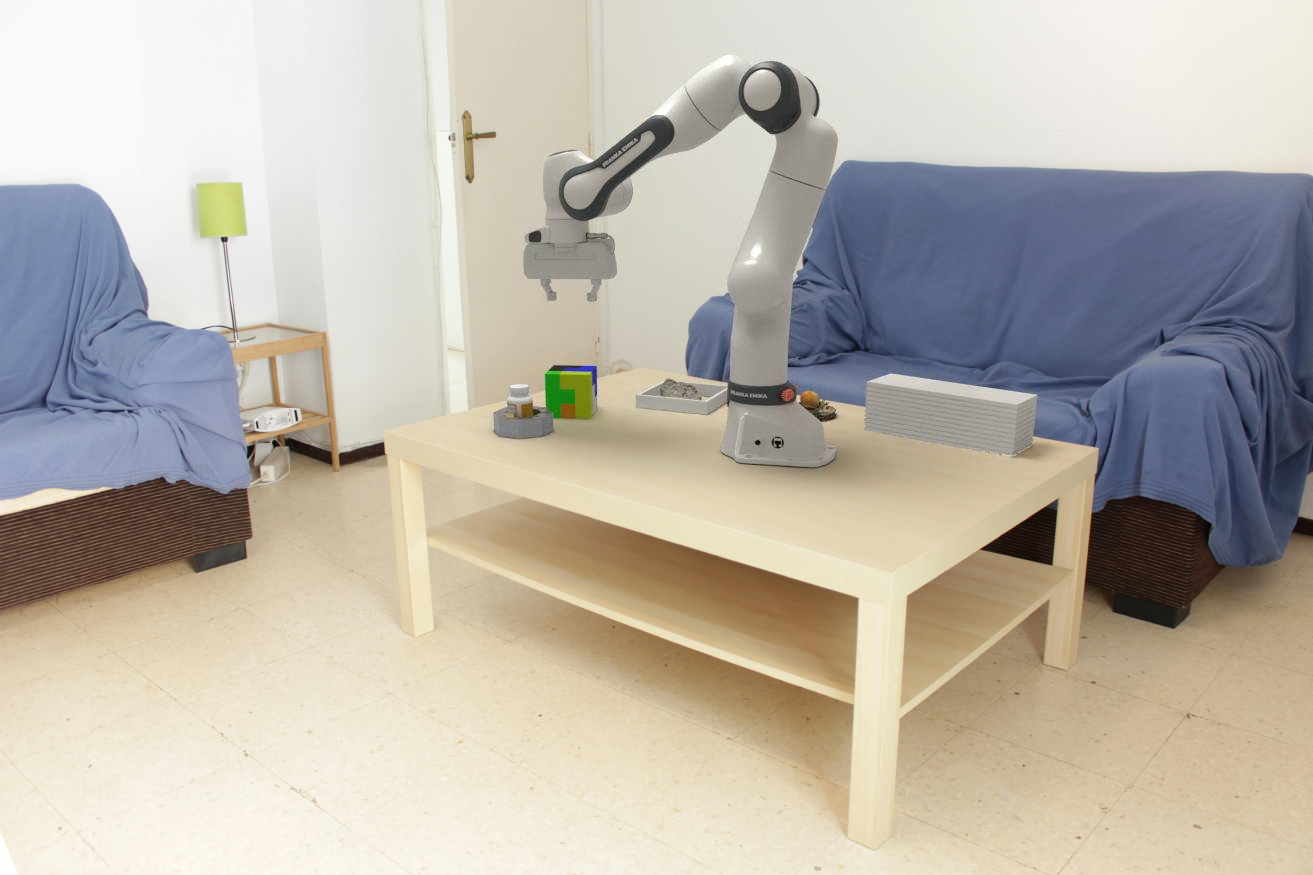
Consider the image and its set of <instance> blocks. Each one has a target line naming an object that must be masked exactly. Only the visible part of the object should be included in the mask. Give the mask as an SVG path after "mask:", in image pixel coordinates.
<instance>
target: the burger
mask: <svg viewBox="0 0 1313 875" xmlns="http://www.w3.org/2000/svg"><path fill="white" fill-rule="evenodd" d="M825 401H826V399H825V398H824V399H822V400H820V396H819V394H818V393H817V392H815V391H812V390H806V391H803V392H802V393H801V395H800V397H799V402H798V403H799V404H800V405H802V406H803V407H804V408H805V409H806V410H807V411H809V412H810V413H811V414H812V415H814V416H815V417H816V418H817V419H819V420H820V422H821V423H822V422H827V421H832V420H835V419H836V418H837V417H836V416H837V414H836V411H837V410H836V408H835V407H833V406H831V405H829V404H830V402H828V401H827V402H825Z"/></svg>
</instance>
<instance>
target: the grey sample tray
mask: <svg viewBox="0 0 1313 875" xmlns="http://www.w3.org/2000/svg"><path fill="white" fill-rule="evenodd" d="M665 380H666V379H665ZM665 380H662V381H660V382H658V383H656V384H654V385H653V386H651V387H648V388H647V389H644V390H642V391H641V392H639V393H637V394H635V408H638V409H646V410H647V409H648V410H657V411H668V412H676V413H687V414H695V415H705V416H707V415H709V414H711V413H712V412H713V411H715V410H717V409H719V408H720V407H721V406H724V405H725V404H727V386H728V385H725V384H715V383H714V384H712V383H703V382H693V381H683V380H680V381H679V380H675V381H676V382H685V383H687V384H691V385H693V386H695V387H696V390H697V392H700V393H701V397H706V398H707V397H708V399H705V400H703V399H702V400H692V399H682V398H672V397H661V393H660V390H659V389H660V388H661V387H662V386H661V385H662V384H663V383H664V381H665Z"/></svg>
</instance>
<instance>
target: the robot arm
mask: <svg viewBox="0 0 1313 875" xmlns="http://www.w3.org/2000/svg"><path fill="white" fill-rule="evenodd" d="M820 106H821V100H820V93H819V91H818V88H817V87H816V85H815V84H814V82H813V81H812V80H811V79H810V78H809V77H808V76H805V75H804V74H803V73H802V72H801V71H800V70H798V69H797V68H795V67H792V66H790V65H788V64H785V63H782V62H779V61H775V60H767V61H762V62H759V63H757V64H755V65H751V64H750V63H749V62H748V61H747V60H746V59H744V58H743V57H741V56H739V55H737V54H732V53H731V54H726V55H725V54H724V55H723V56H720V57H719V58H717V59H715V60H714V61H712V62H711V63H709V64H707V65H706V66H704V67H703V68H702V69H701V70H699V71H697V72H696V73H695V74H693V76H691V77H690V78H688V79H687V80H686V81H685V82H684V83H682V85H681V86H679V88H677V89H676V90H674V92H673V93H672V94H671V95H670V96H669V97H668V98H667V99H666V100H665V101H664V102H663V103H662V104H661V105H660V106H659V107H658V108H657V109H656V110H654V112H652V114H650V115H649V116H648V117H647V118H646V119H644V120H643V122H642V123H641V124H640V125H639V126H637V127H636V128H634V129H633V130H631V132H629V133H628V134H626V135H625V136H624V137H623V138H622V139H620V140H619V141H617V143H615V144H614V145H613V146H611V147H610V148H609V149H607V151H605V152H604V153H603V154H602V155H600V156H599V157H597V158H596V159H592V158H590V157H588V156H587V155H586V154H584V153H583V151H581V150H579V149H569V150H563V151H558V152H554V153H552V154H550V155H548V156H547V157H546V158H545V161H544V163H543V174H542V175H543V176H542V183H543V184H542V187H543V192H542V193H543V200H544V202H545V207H546V212H545V217H544V220H545V223H544V224H545V225H543V226H541V227H538V228H535V229H533V230H531V231H528V232H525V234H524V239H523V240H524V242H525V243H526V245H525V247H524V250H523V256H522V260H523V261H522V262H523V263H522V264H523V274H524V276H525V277H526V278H527V280H540V285H541V287H542V289H543V290H544V292H545V293H546V296H545V297H546V301H548V302H555V301H557V299H558V297H557V291H554V290H553V288H552V287H551V285H550V284H552V280H590V285H591V286H592V288H591V290H590V292H586V300H587V302H590V303H591V302H593V303H594V302H597V300H598V292H599V289H600V288H601V286H602V280H612V279H614V278H616V276H617V274H618V266H617V260H616V254H615V251H616V242H615V239H614V238H613V236H611V235H610V234H609V233H607V232H599V233H597V232H590V221H591V220H593V219H597V218H604V217H608V216H614V215H617V214H619V213H622V212H623V211H624V210H626V209H627V208H628V207H629V205H630V204H631V202H632V198H633V196H634V191H633V190H634V188H633V183H632V180H631V179H630V178H631V177H632V176H633V175H634V174H636V173H637V172H638V171H640V169H642V168H644V167H645V166H646V165H647V164H649V163H651V162H653V161H655V160H657V159H659V158H662V157H665V156H670V155H673V154H677V153H683V152H689V151H692V150H694V149H696V148H697V147H700V146H702V145H703V144H705V143H707V142H708V141H710V140H711V139H713V138H715V136H717V135H718V134H719V133H721V132H722V131H723V130H724V129H725V128H726V127H727V126H729V125H730V124H731V123H732V122H733V121H735V120H736V119H738V118H739V117H741V116H743V115H746V116H747V117H748V118H749V119H750V120H751V121H752V122H754V123H755V124H757V126H759V127H761V129H763V130H764V131H766V132H767V133H768V134H769V135H771V136H772V135H774V137H775V140H776V142H775V144H776V145H775V146H776V147H775V151H774V154H773V157H772V160H771V163H770V166H769V168H768V172H767V174H766V177H765V179H764V183H763V185H762V188H761V190H760V194H759V197H758V200H757V203H756V206H755V208H754V211H753V214H752V215H751V218H750V220H749V223H748V225H747V228H746V230H745V232H744V235H743V237H742V240H741V242H740V244H739V248H738V250H737V253H736V255H735V257H734V260H733V263H732V265H731V268H730V270H729V273H728V275H727V276H728V277H727V284H726V285H727V292H728V294H729V295H728V296H729V298H730V299H731V301H732V302H733V304H734V309H733V318H732V319H733V320H732V329H731V334H730V335H731V336H730V352H729V353H730V355H729V356H730V358H729V362H730V363H729V370H730V371H729V379H728V380H727V385H726V386H727V402H726V405H727V406H726V407H727V408H728V409H727V417H726V418H727V419H726V424H725V428H724V429H725V430H724V434H723V439H722V441H721V445H720V449H719V450H720V452H721V453H722V454H724V455H726V456H728V457H730V458H732V459H733V460H734V461H735V462H737V463H740V464H752V465H753V464H754V465H769V466H785V467H803V468H806V467H807V468H818V467H823V466H825V465H827V464H829V463H830V462H832V461H833V460H834V459H835V457H836V454H837V449H836V447H835V446H834V445H833V444H831V443H826V437H825V430H824V426H823V424H822V422H820V420H819V419H817V418H816V417H815V416H814V415H812V414H811V413H810V412H809V411H807V410H806V409H805V408H804V407H803V406H802V405H800V404H799V402H798V401H797V398H798V396H797V394H798V392H797V391H799V389H798V388H799V384H795V385H794V384H792V383H791V382H790V381H789V380H788V364H789V361H788V360H789V359H788V358H789V357H788V356H789V341H790V340H789V338H790V337H789V336H790V327H791V326H790V325H791V315H792V304H793V303H792V300H793V298H792V297H793V288H794V286H793V285H794V284H793V283H794V274H795V271H796V268H797V265H798V263H799V260H800V258H801V255H802V253H803V251H804V248H805V246H806V244H807V243H806V242H807V241H808V238H809V235H810V234H811V232H812V228H813V226H814V224H815V220H816V219H817V218H816V217H817V214H818V212H819V210H820V209H819V208H820V206H821V204H822V201H823V198H824V196H825V193H826V190H827V188H828V185H829V182H830V179H831V176H832V172H833V168H834V164H835V161H836V156H837V150H838V144H839V138H838V134H837V131H836V130H835V128H834V127H833V126H832V125H830V123H829V122H827V121H825V120H824V119H821V118H819V117H817V115H818V114H819V111H820Z"/></svg>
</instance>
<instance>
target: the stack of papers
mask: <svg viewBox="0 0 1313 875" xmlns="http://www.w3.org/2000/svg"><path fill="white" fill-rule="evenodd" d="M865 389H866V390H865V405H864V408H865V409H864V420H863V421H864V423H863V425H864V427H863V430H864V431H868V432H872V433H873V432H874V433H878V434H884V435H891V436H894V437H900V438H904V439H906V438H907V439H911V440H917V441H922V442H926V443H933V444H936V445H937V444H939V445H942V446H943V445H944V446H948V447H955V448H959V449H960V448H961V449H965V450H970V449H971V451H975V450H978V451H977V452H980V451H985V452H984V453H986V452H991V453H998V454H1005V455H1012V456H1013V455H1015V454H1017V453H1018V452H1020V451H1022V450H1024V449H1026V448H1027V447H1029V446H1031V445H1032V444H1033V442H1034V438H1033V437H1034V434H1035V433H1034V432H1035V423H1036V416H1037V415H1036V413H1037V403H1038V394H1035V393H1028V392H1023V391H1022V392H1019V391H1013V390H1006V389H1000V388H999V389H998V388H994V387H993V388H992V387H985V386H979V385H974V384H973V385H972V384H965V383H958V382H951V381H945V380H938V379H932V378H931V379H930V378H925V377H924V378H923V377H918V376H911V375H904V374H903V375H902V374H897V373H888V374H886V375H882V376H880V377H877V378H873V379H870V380H868V381H866V387H865ZM1032 446H1033V445H1032ZM1032 446H1031V447H1032ZM1029 448H1030V447H1029ZM1026 450H1027V449H1026ZM1024 451H1025V450H1024ZM991 453H990V454H991ZM1017 455H1018V454H1017Z"/></svg>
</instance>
